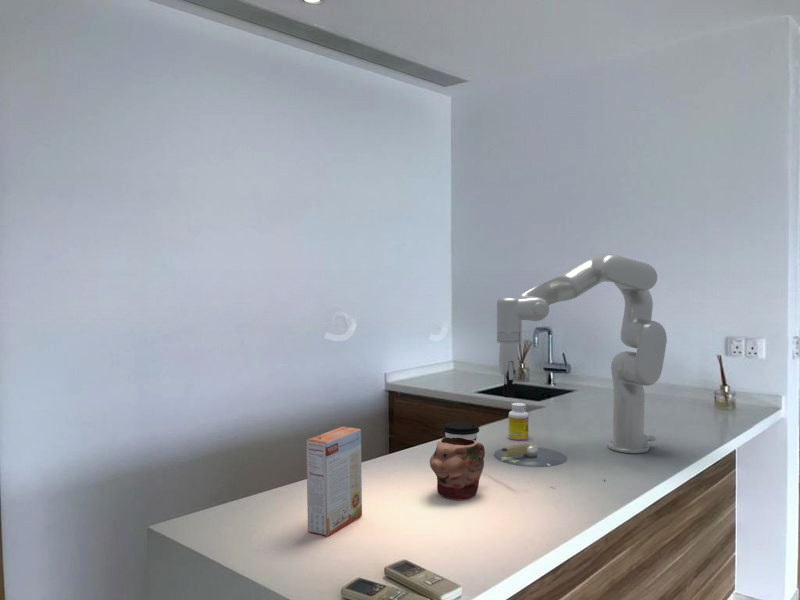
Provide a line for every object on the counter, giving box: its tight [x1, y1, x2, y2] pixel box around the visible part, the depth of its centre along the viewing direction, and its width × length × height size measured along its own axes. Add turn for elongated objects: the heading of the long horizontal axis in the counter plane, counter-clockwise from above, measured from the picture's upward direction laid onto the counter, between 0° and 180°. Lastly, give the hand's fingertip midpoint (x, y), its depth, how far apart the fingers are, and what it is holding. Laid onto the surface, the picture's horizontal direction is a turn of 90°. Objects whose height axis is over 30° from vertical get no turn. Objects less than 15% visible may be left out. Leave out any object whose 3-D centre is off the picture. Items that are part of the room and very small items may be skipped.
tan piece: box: [501, 443, 539, 458], centre depth 196 cm, size 13×4×4 cm, turn 123°
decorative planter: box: [429, 436, 486, 501], centre depth 169 cm, size 20×12×14 cm, turn 141°
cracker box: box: [305, 426, 363, 537], centre depth 148 cm, size 14×6×21 cm, turn 150°
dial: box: [493, 447, 568, 468], centre depth 199 cm, size 22×22×1 cm
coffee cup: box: [442, 420, 480, 441], centre depth 194 cm, size 11×11×12 cm
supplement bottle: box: [507, 402, 529, 442], centre depth 220 cm, size 7×7×13 cm
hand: (509, 396), depth 201 cm, fingers closed
